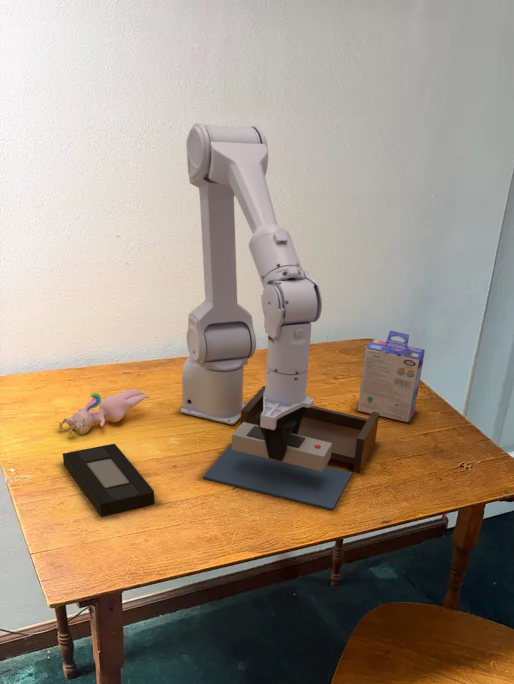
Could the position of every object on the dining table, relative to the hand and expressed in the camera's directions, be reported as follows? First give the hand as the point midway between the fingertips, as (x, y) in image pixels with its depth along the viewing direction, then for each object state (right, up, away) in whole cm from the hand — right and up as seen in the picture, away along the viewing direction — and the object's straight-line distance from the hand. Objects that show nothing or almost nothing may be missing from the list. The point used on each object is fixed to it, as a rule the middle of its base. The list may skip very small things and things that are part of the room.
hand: (281, 451), depth 117 cm
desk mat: (-1, -4, +3) cm, 4 cm away
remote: (0, 0, 0) cm, 0 cm away
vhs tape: (-24, -6, -6) cm, 25 cm away
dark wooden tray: (+3, +2, +12) cm, 12 cm away
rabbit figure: (-29, +5, +8) cm, 31 cm away
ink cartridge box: (+15, +10, +26) cm, 32 cm away
